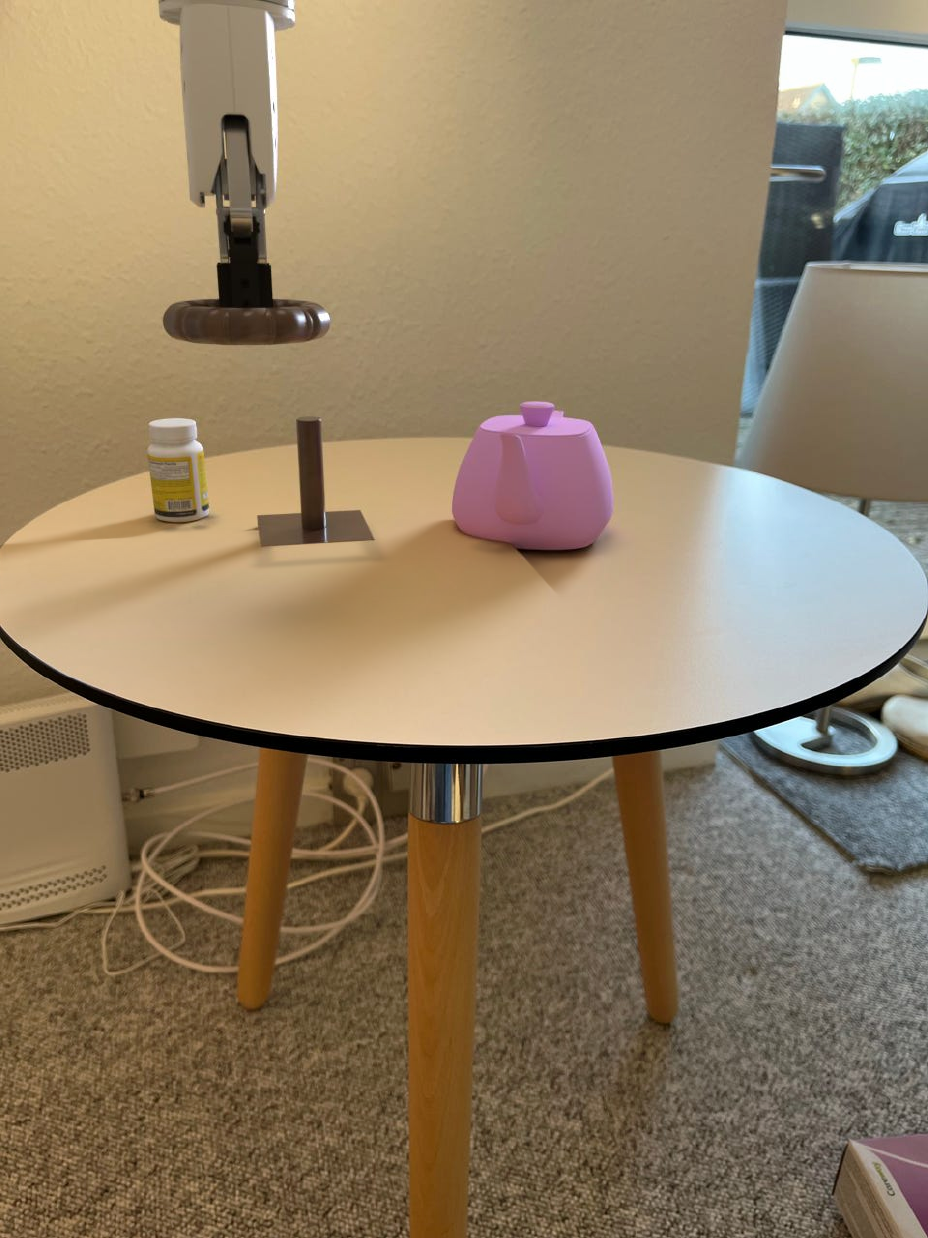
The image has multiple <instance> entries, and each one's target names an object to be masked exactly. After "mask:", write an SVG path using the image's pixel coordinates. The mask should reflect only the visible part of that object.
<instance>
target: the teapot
mask: <svg viewBox="0 0 928 1238" xmlns="http://www.w3.org/2000/svg"><path fill="white" fill-rule="evenodd" d="M519 407H520V408H519V410H520V413H521V414H507V415H506V414H505V415H496V416H493V417H489V418H488V419H486V420H485V421H483V422H482V423H481V424H479V426H478V428H477V429H476V431H475V433H474V435H473V437H472V439H471V442H470V443H469V444H468V445H469V446H468V447H467V449H466V452H465V454H464V456H463V459H462V461H461V464H460V466H459V469H458V472H457V476H456V479H455V483H454V487H453V488H454V489H453V493H452V501H451V514H452V517H453V519H454V520H453V521H454V522H455V523H456V525H457V527H458V528H459V530H460V531H461V532H463V533H465V534H466V535H468V536H471V537H476V538H481V539H486V540H492V541H496V542H504V543H510V544H511V545H512V546H513V547H514V548H515V549H519V550H535V551H536V550H538V551H540V550H541V551H565V550H566V551H567V550H577V549H582V548H585V547H588V546H591V545H592V544H593V543H595V541H596V540H597V539H598V537H599V536H600V535H601V534H602V533H603V531H604V530H605V528H606V527H607V526H608V524H609V523H610V521H611V519H612V516H613V512H614V490H613V481H612V480H613V479H612V475H611V469H610V466H609V462H608V460H607V457H606V453H605V451H604V447H603V445H602V443H601V440H600V437H599V436H598V433H597V430H596V429H595V427H594V424H593V423H592V422H590V421H588V420H586V419H580V418H573V417H565V416H564V411H563V410H554V409H555V404H553V403H551V402H547V401H536V400H535V401H525V402H522V403H520V404H519Z"/></svg>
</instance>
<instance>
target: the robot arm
mask: <svg viewBox="0 0 928 1238" xmlns="http://www.w3.org/2000/svg"><path fill="white" fill-rule="evenodd" d="M157 1H158V14H159V19H161V20H162V21H164V22H167V23H168V24H171V25H175V26H178V27H179V65H180V66H179V67H180V83H181V85H180V86H181V97H182V111H183V113H182V114H183V123H184V125H183V126H184V134H185V135H184V138H185V148H186V149H185V150H186V161H187V163H186V164H187V175H188V176H187V177H188V191H189V200H190V202H192V203H193V204H194V205H195V206H197V207H198V208H203V209H204V208H206V197H215V205H216V209H215V215H216V219H217V233H218V235H217V236H218V248H219V249H218V250H219V261H220V262H217V263H216V276H217V291H218V299H219V306H220V308H273V299H274V296H273V279H272V264H270V263H269V262H268V257H267V256H268V255H267V237H266V220H265V219H266V217H265V216H266V210H265V209H268V208H269V207H270V206H271V205H273V204H275V202H276V196H277V195H276V194H277V181H278V157H279V156H278V155H279V154H278V149H279V128H278V127H279V123H278V122H279V121H278V120H279V119H278V118H279V117H278V114H279V113H278V89H277V88H278V86H277V85H278V84H277V62H276V61H277V60H276V38H275V36H276V35H275V32H281V31H285V30H288V29H292V28H294V27H295V25H296V14H295V0H157ZM224 201H225V202H226V201H227V202H228V203H229V206H226V205H224ZM252 202H255V206H253V204H252Z"/></svg>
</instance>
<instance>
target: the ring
mask: <svg viewBox="0 0 928 1238" xmlns="http://www.w3.org/2000/svg"><path fill="white" fill-rule="evenodd" d="M162 326H163V328H164V330H165V332H166V334H167V335H168V336H170V338H173V339H174V340H177V341H182V342H187V343H192V344H199V345H200V344H202V345H217V346H273V345H275V346H276V345H288V344H289V345H290V344H301V343H306V342H310V341H314V340H319V339H321V338H323V337H325V336H326V334H327V333H328V332H329V330H330V327H331V318H330V316H329V313H328V312H327V310H326V309H325V308H324V307H323V306H322V305H321V304H319V303H317V302H315V301H309V300H300V299H291V298H290V299H289V298H288V299H287V298H273V308H220V306H219V298H203V299H202V298H200V299H191V300H181V301H176V302H174V303H172V304H171V305H169V306H168V307H167V309H166V310H165V311H164V313H163V316H162Z"/></svg>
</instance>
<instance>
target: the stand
mask: <svg viewBox="0 0 928 1238" xmlns="http://www.w3.org/2000/svg"><path fill="white" fill-rule="evenodd" d="M295 428H296V429H295V430H296V442H297V443H296V445H297V463H298V482H299V500H300V501H299V502H300V512H294V513H275V514H259V515H256V518H257V530H258V532H259V541H260V546H261V548H264V547H265V548H266V547H279V546H282V547H283V546H293V545H294V546H295V545H297V546H299V545H315V544H332V543H349V542H350V543H351V542H365V541H367V542H368V541H375V540H376V538H375V537H374V534H373V532H372V530H371V528H370V527H369V525H368V523H367V520H366V519H365V516H364V514H363V513H362V511H361V509H353V510H351V509H349V510H334V511H326V495H325V474H324V473H325V472H324V471H325V470H324V451H323V450H324V449H323V430H322V418H321V417H319V416H314V415H313V416H310V415H309V416H308V415H307V416H299V417H296V418H295Z"/></svg>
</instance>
